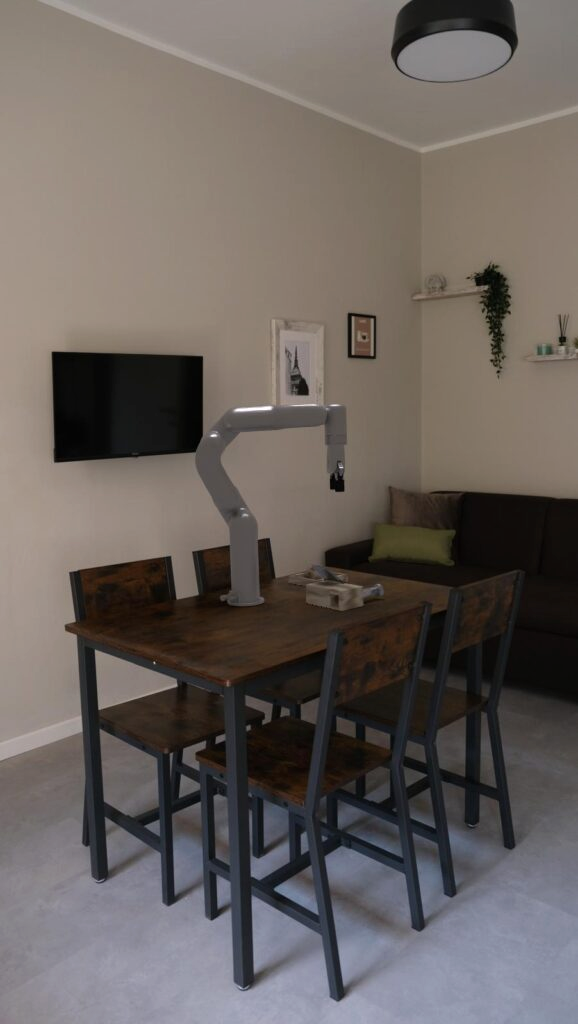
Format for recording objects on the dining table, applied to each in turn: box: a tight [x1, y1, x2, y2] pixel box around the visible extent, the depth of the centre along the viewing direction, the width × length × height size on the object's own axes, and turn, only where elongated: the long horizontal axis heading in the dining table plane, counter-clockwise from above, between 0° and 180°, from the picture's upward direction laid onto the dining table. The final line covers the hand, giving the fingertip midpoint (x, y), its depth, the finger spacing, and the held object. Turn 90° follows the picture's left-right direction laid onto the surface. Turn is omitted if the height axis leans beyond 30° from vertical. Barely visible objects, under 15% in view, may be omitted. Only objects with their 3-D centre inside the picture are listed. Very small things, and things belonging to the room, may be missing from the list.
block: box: [305, 579, 364, 612], centre depth 278 cm, size 10×17×8 cm, turn 42°
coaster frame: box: [287, 571, 349, 587], centre depth 316 cm, size 16×15×3 cm
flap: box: [311, 564, 342, 583], centre depth 281 cm, size 9×7×1 cm
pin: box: [363, 583, 385, 599], centre depth 280 cm, size 15×4×4 cm, turn 132°
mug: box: [304, 564, 324, 580], centre depth 316 cm, size 7×10×10 cm
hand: (337, 490), depth 285 cm, fingers open, 9 cm apart
